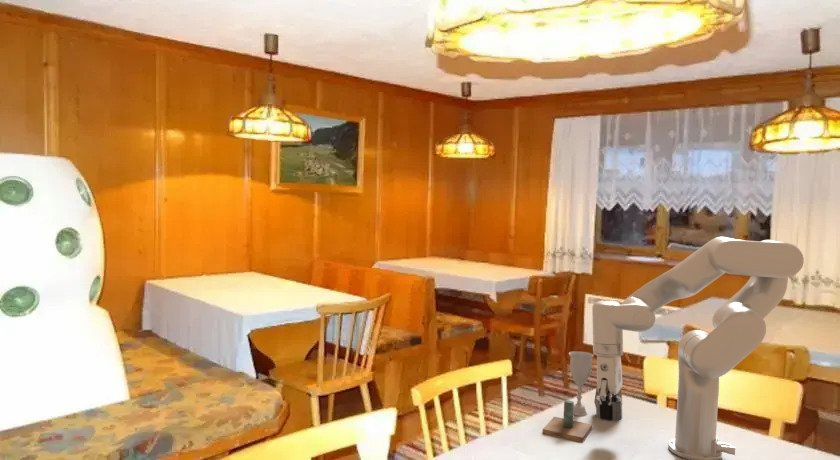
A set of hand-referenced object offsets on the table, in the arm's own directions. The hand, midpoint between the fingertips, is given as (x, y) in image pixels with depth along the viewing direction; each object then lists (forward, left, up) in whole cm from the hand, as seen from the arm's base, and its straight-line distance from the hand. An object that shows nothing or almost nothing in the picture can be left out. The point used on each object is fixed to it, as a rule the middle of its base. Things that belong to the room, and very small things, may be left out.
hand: (609, 414), depth 160 cm
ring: (0, 0, -1) cm, 1 cm away
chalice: (+12, -19, -8) cm, 24 cm away
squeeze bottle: (+4, -22, -8) cm, 23 cm away
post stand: (+11, -3, -8) cm, 14 cm away
